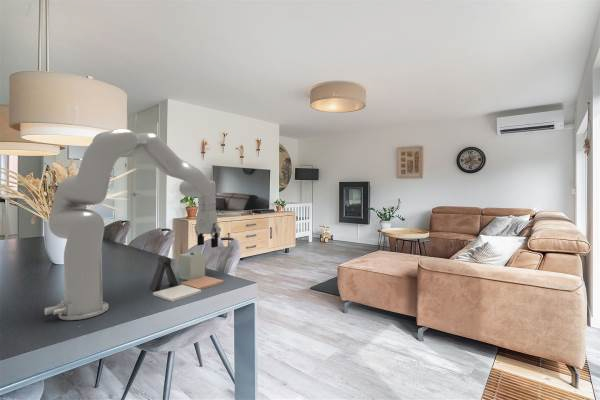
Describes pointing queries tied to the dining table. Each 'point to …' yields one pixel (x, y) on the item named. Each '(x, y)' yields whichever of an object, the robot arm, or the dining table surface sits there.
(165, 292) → the pad cream
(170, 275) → the black a-frame stand
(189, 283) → the pad terracotta
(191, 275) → the block
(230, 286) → the dining table surface
